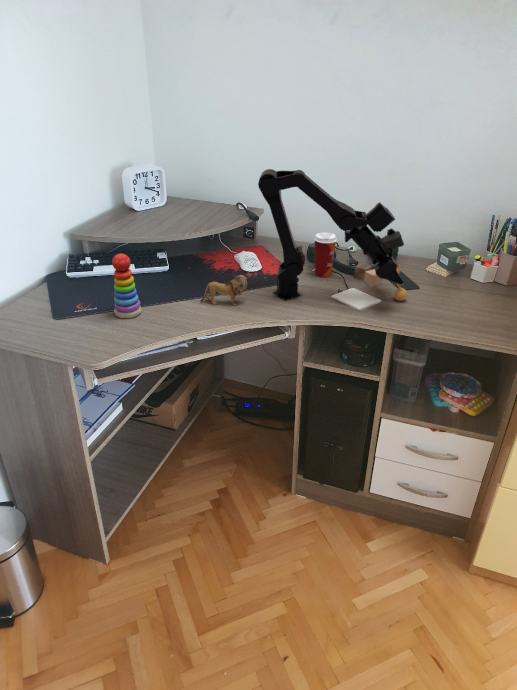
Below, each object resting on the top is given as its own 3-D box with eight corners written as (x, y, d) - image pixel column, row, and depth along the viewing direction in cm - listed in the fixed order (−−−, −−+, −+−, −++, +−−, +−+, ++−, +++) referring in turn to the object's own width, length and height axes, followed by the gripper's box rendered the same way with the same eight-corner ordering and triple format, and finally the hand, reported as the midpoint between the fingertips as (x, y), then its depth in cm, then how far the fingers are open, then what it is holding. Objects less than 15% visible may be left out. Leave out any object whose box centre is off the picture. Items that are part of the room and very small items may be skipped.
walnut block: (354, 277, 188) (355, 266, 186) (360, 274, 190) (361, 263, 188) (364, 280, 186) (365, 269, 184) (370, 277, 188) (371, 266, 186)
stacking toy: (112, 309, 165) (104, 250, 155) (138, 305, 167) (132, 247, 158) (117, 321, 158) (109, 260, 149) (144, 316, 161) (138, 256, 152)
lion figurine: (247, 298, 172) (247, 272, 168) (247, 306, 168) (247, 279, 163) (200, 299, 172) (199, 272, 167) (199, 306, 167) (198, 279, 163)
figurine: (409, 305, 169) (415, 269, 163) (390, 306, 169) (395, 269, 163) (402, 294, 176) (408, 259, 170) (384, 294, 176) (388, 259, 170)
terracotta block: (363, 282, 184) (365, 271, 182) (372, 280, 186) (374, 269, 184) (371, 286, 181) (373, 275, 179) (380, 284, 183) (382, 273, 181)
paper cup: (335, 278, 186) (338, 239, 179) (312, 278, 186) (315, 239, 179) (332, 270, 193) (336, 231, 186) (311, 269, 193) (313, 231, 186)
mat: (331, 297, 174) (331, 295, 173) (352, 289, 179) (353, 287, 179) (359, 310, 166) (359, 309, 165) (381, 302, 171) (381, 300, 171)
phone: (400, 289, 178) (380, 272, 191) (400, 292, 179) (380, 274, 191) (421, 287, 180) (400, 270, 192) (420, 290, 180) (400, 272, 193)
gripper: (393, 234, 152) (427, 272, 157) (386, 214, 168) (417, 249, 173) (361, 259, 157) (395, 296, 162) (358, 238, 173) (389, 271, 178)
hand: (400, 277), depth 168 cm, fingers open, 9 cm apart
